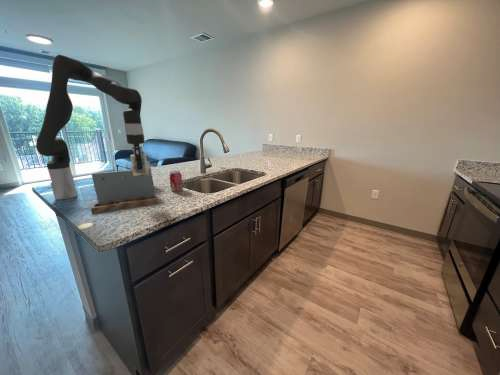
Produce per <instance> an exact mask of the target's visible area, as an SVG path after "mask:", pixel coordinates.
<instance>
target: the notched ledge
mask: <svg viewBox="0 0 500 375" xmlns="http://www.w3.org/2000/svg"><path fill="white" fill-rule="evenodd" d="M155 203H156V204H158V203H157V197H156V194H154V195H151V196H143V197H136V198H129V199H122V200H114V201H107V202H100V203H98V202H94V203H93V204H92V206H91V207H90V210H91V211H90V212H91V214H97V213H98V214H99V213H103V212H110V211H115V210H122V209H123V210H124V209H128V208H130V209H131V208H136V207H143V206H149V205H154V204H155ZM156 204H155V205H156Z"/></svg>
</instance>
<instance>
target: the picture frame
mask: <svg viewBox="0 0 500 375" xmlns="http://www.w3.org/2000/svg"><path fill="white" fill-rule="evenodd" d="M129 157H130V163H131V170H133V176H136V175H147V174H149V171H148V164H147V162H148V158H147V154H146V153H142V157H141V159H142V167H143V169H140V170H139V169H138V167H137V162H136V158H135V157H134V154H130V155H129ZM137 159H140V157H137Z"/></svg>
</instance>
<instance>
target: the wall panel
mask: <svg viewBox="0 0 500 375" xmlns="http://www.w3.org/2000/svg"><path fill="white" fill-rule="evenodd" d="M148 171H149V174H147V175H136V176H133V170H132V169H129V170H128V169H127V170H118V171H117V170H116V171H106V172H105V171H104V172H93V173H91V177H92V181H93V187H94V186H95V188H94V191H96V192H95V195H96V198H97V203H100V202H107V201H114V200H122V199H129V198H136V197H143V196H151V195H155V193H154V192H155V191H154V183H153V184H152V179H153V177H152V178H151V173H152V170H151V171H150V169H148Z"/></svg>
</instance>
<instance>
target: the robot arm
mask: <svg viewBox="0 0 500 375" xmlns="http://www.w3.org/2000/svg"><path fill="white" fill-rule="evenodd" d="M69 80H72V81H76V82H77V81H78V82H84V83H87V84H90V85H92V86H94V88H96V89H97V90H99V91H100V92H102V93H104V94H106V95H108V96H110V97H111V98H112V99H114V100H115V101H116V102H118V103H120V104H123V105H128V108H127V109H126V110H124V111H123V113H122V115H123V122H124V130H125V136H126V142H127V144H129V145H133V147H132V152H133V155H134V157H135V158H136V162H137V167H138V169H139V170H140V169H143V167H142V159H141V157H142V154H143V152H142V151H143V148H142V146H140V144H141V145H143V144H145V143H146V142H145V141H146V140H145V135H144V129H143V125H142V119H141V113H142V112H141V111H142V102H143V101H142V96H141V94H140V92H139V91H138V90H137V89H134V88H132V87H131V88H129V87H125V86H122V85H121V84H120V83H119V82H117V81H115V80H113V79H112V78H110V77H108V76H105V75H104V74H100V73H98V72H97V71H95V70H93V69H92V68H90V66H88V65H86V64H85V63H83V62H81V60H79V59H76V58H74V57H72V56H71V57H70V56H68V55H65V54H61V53H60V54H56V56H55V57H54V59H53V63H52V71H51V84H50V91H49V96H48V99H47V103H46V107H45V113H44V118H43V122H42V126H41V129H40V131H39V134H38V136H37V139H36V143H35V147H36V151H37V152H38V154H39V155H41V156H43V157H52V159H51V160H50V161H48V162H47V163H46V167H47V171H48V174H49V178H50V180H51V181H50V186H51V190H52V193H53V196H54V200H58V201H59V200H61V201H62V200H69V199H73V198H76V197H77V196H79V194H78V190H77V187H76V184H75V180H74V175H73V172H72V168H71V158H70V152H69V147H68V145H67V142H66V141H65V139H63V138H61V137H57V136H58V134H59V132H60V131H61V130H62V129H63V128H64V127H66V126H67V125H68V123H69V121H70V120H71V118H72V114H73V111H74V110H73V109H74V106H73V103H72V102H73V101H72V99H71V98H70V95H69V93H68V82H69ZM137 157H140V159H137Z"/></svg>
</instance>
